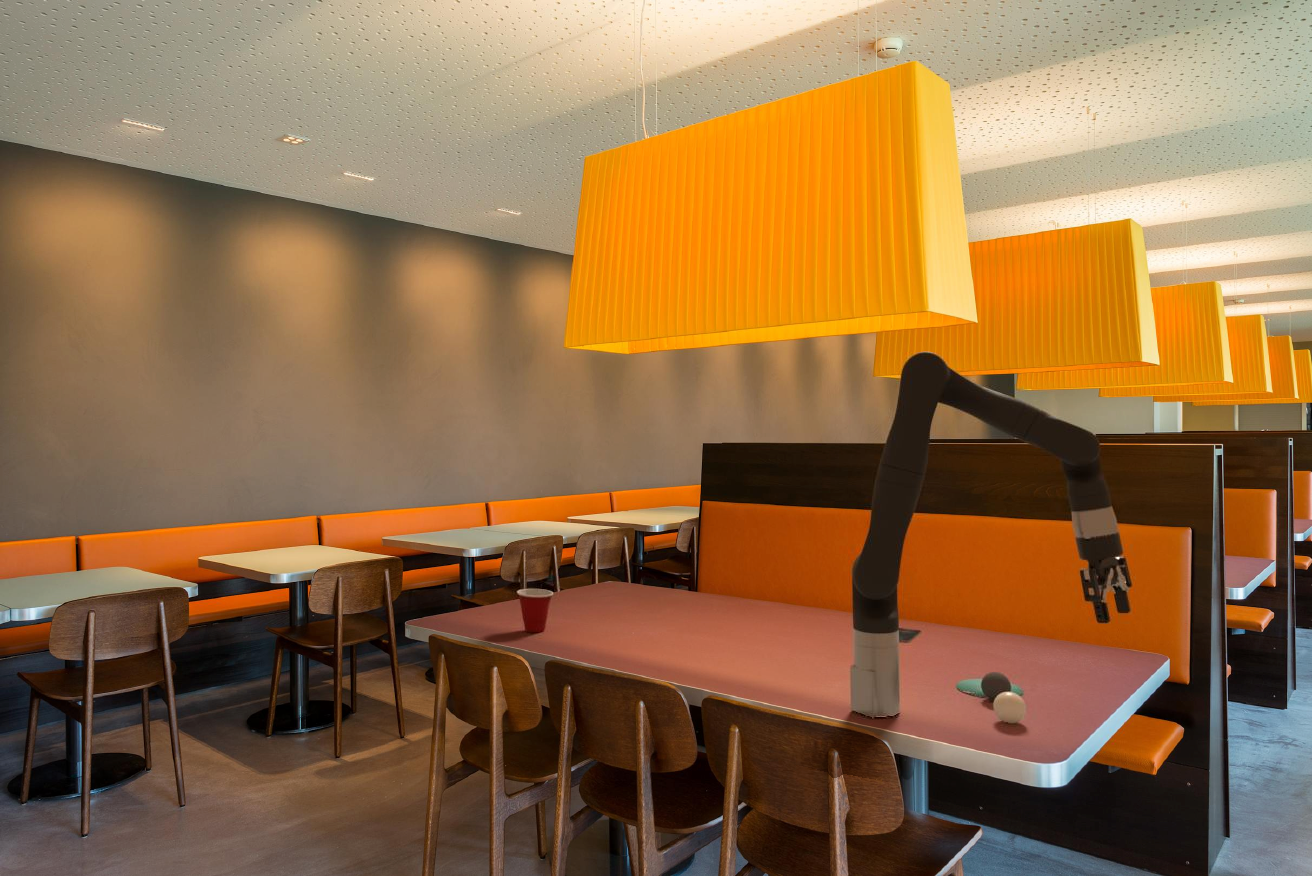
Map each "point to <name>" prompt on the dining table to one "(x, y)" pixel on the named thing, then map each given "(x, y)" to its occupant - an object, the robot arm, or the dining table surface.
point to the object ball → (995, 684)
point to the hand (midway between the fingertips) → (1114, 617)
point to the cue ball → (1009, 707)
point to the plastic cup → (534, 608)
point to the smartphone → (907, 634)
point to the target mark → (975, 686)
